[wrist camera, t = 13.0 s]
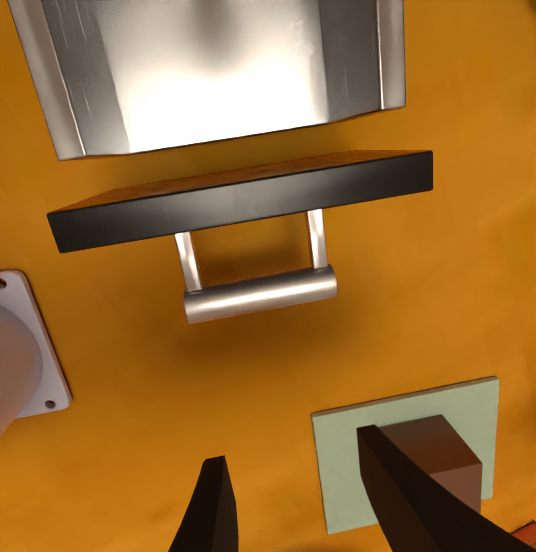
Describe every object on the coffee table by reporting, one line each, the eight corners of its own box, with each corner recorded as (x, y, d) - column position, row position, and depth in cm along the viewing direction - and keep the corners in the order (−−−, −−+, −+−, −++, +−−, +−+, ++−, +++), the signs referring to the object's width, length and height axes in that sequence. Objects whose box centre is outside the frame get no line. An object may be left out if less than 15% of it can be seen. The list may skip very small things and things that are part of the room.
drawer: (364, 259, 19) (434, 313, 13) (142, 299, 19) (101, 376, 12) (333, -206, 14) (431, -520, 7) (10, -172, 13) (-198, -489, 7)
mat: (326, 529, 27) (328, 534, 26) (310, 413, 23) (312, 417, 23) (488, 493, 27) (492, 498, 27) (495, 375, 24) (500, 379, 24)
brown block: (378, 499, 26) (405, 559, 22) (373, 428, 24) (402, 480, 20) (441, 484, 26) (479, 542, 22) (442, 413, 24) (483, 462, 20)
